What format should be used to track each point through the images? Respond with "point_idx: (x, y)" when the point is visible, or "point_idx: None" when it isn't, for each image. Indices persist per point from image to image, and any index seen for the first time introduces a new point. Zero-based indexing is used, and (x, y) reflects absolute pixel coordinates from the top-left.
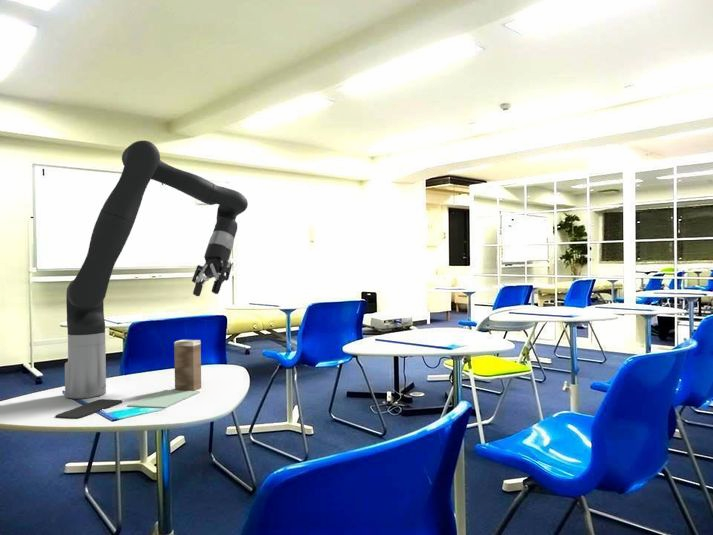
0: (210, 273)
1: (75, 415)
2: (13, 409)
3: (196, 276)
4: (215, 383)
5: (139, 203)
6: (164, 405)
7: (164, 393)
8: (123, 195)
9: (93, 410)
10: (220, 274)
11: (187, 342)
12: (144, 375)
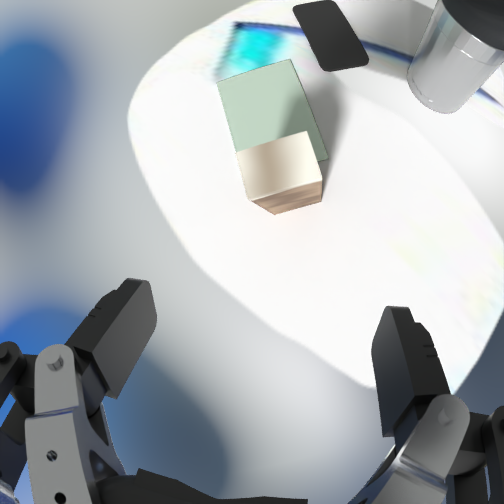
0: (167, 494)
1: (305, 8)
2: (427, 10)
3: (493, 478)
4: (277, 264)
5: None
6: (224, 85)
7: None
8: None
9: (307, 25)
10: (7, 374)
11: (256, 146)
12: (497, 262)
